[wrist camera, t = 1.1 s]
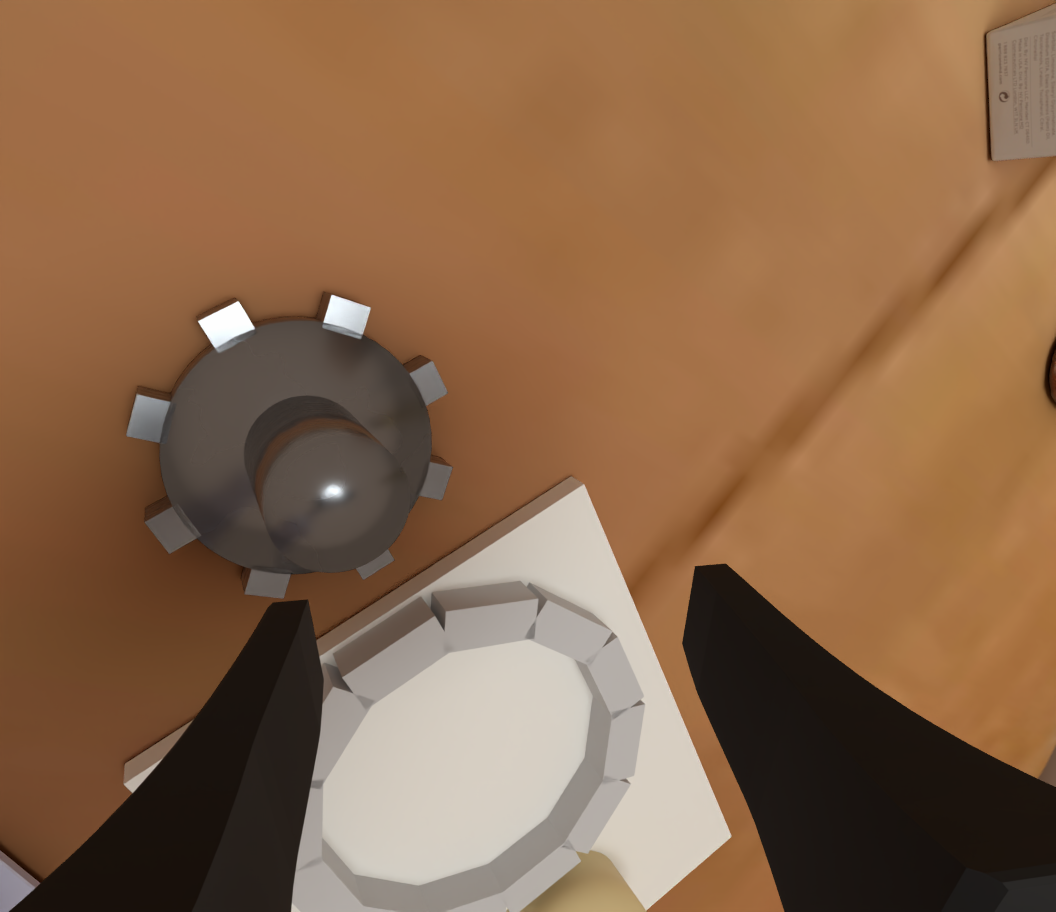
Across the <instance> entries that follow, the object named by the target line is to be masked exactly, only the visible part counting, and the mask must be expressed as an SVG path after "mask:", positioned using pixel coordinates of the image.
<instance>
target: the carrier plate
mask: <svg viewBox="0 0 1056 912" xmlns="http://www.w3.org/2000/svg"><path fill="white" fill-rule="evenodd" d="M316 642H317V647H318V652H319V657H320V662H321V667H322V672H323V677H324V687H323V704H322V718H321V731H320V738H319V744H318V750H317V755H316V761H315V766H314V772H313V777H312V782H311V788H310V793H309V799H308V804H307V809H306V815H305V820H304V825H303V831H302V836H301V841H300V847H299V852H298V858H297V864H296V871H295V878H294V886H293V896H292V907H291V912H647V911H646V910H647V909H648V908H650V907H651V906H652V905H653V904H654V903H655V902H656V901H658V900H659V899H660V898H661V897H662V896H663V895H665V894H666V893H667V892H668V891H669V890H670V889H672V888H673V887H674V886H675V885H676V884H677V883H678V882H680V881H681V880H682V879H683V878H684V877H685V876H687V875H688V874H689V873H690V872H691V871H692V870H694V869H695V868H696V867H697V866H698V865H699V864H700V863H702V862H703V861H704V860H705V859H706V858H707V857H709V856H710V855H711V854H712V853H713V852H714V851H716V850H717V849H718V848H719V847H720V846H721V845H722V844H724V843H725V842H726V841H727V840H728V839H729V838H731V837H732V836H731V834H730V832H729V829H728V827H727V824H726V822H725V820H724V817H723V815H722V812H721V810H720V808H719V805H718V803H717V801H716V798H715V796H714V793H713V791H712V789H711V786H710V784H709V781H708V779H707V777H706V774H705V772H704V769H703V767H702V765H701V762H700V760H699V758H698V755H697V753H696V750H695V748H694V746H693V743H692V741H691V738H690V736H689V734H688V731H687V729H686V726H685V724H684V722H683V719H682V717H681V715H680V712H679V710H678V707H677V705H676V703H675V700H674V698H673V695H672V693H671V691H670V688H669V686H668V684H667V681H666V679H665V676H664V674H663V672H662V669H661V667H660V664H659V662H658V660H657V657H656V655H655V652H654V650H653V648H652V645H651V643H650V641H649V638H648V636H647V633H646V631H645V629H644V626H643V624H642V621H641V619H640V617H639V614H638V612H637V609H636V607H635V605H634V602H633V600H632V598H631V595H630V593H629V590H628V588H627V586H626V583H625V581H624V578H623V576H622V574H621V571H620V569H619V567H618V564H617V562H616V559H615V557H614V555H613V552H612V550H611V547H610V545H609V543H608V540H607V538H606V535H605V533H604V531H603V528H602V526H601V524H600V521H599V519H598V516H597V514H596V512H595V509H594V507H593V504H592V502H591V500H590V497H589V495H588V493H587V490H586V488H585V485H584V484H583V483H581V482H580V481H578V480H576V479H575V478H573V477H572V476H570V477H569V478H567V479H566V480H564V481H563V482H561V483H560V484H558V485H557V486H555V487H553V488H552V489H550V490H549V491H547V492H546V493H544V494H543V495H541V496H539V497H538V498H536V499H535V500H533V501H532V502H530V503H529V504H527V505H526V506H524V507H522V508H521V509H519V510H518V511H516V512H515V513H513V514H512V515H510V516H508V517H507V518H505V519H504V520H502V521H501V522H499V523H498V524H496V525H494V526H493V527H491V528H490V529H488V530H487V531H485V532H484V533H482V534H481V535H479V536H477V537H476V538H474V539H473V540H471V541H470V542H468V543H467V544H465V545H463V546H462V547H460V548H459V549H457V550H456V551H454V552H453V553H451V554H449V555H448V556H446V557H445V558H443V559H442V560H440V561H439V562H437V563H436V564H434V565H432V566H431V567H429V568H428V569H426V570H425V571H423V572H422V573H420V574H418V575H417V576H415V577H414V578H412V579H411V580H409V581H408V582H406V583H405V584H403V585H401V586H400V587H398V588H397V589H395V590H394V591H392V592H391V593H389V594H387V595H386V596H384V597H383V598H381V599H380V600H378V601H377V602H375V603H373V604H372V605H370V606H369V607H367V608H366V609H364V610H363V611H361V612H360V613H358V614H356V615H355V616H353V617H352V618H350V619H349V620H347V621H346V622H344V623H342V624H341V625H339V626H338V627H336V628H335V629H333V630H332V631H330V632H329V633H327V634H325V635H324V636H322V637H321V638H319V639H318V640H316ZM192 721H193V720H192ZM192 721H190V722H189V723H187V724H186V725H184V726H183V727H181V728H180V729H178V730H176V731H175V732H173V733H172V734H170V735H169V736H167V737H166V738H164V739H163V740H161V741H159V742H158V743H156V744H155V745H153V746H152V747H150V748H149V749H147V750H145V751H144V752H142V753H141V754H139V755H138V756H136V757H135V758H133V759H132V760H130V761H128V762H127V763H125V769H124V785H125V786H126V787H127V788H128V789H129V790H130V791H131V792H132V793H133V792H134V791H135V790H136V789H137V788H138V787H139V785H140V784H141V783H142V782H143V781H144V780H145V779H146V778H147V776H148V775H149V774H150V773H151V772H152V771H153V770H154V768H155V767H156V766H157V765H158V764H159V763H160V761H161V760H162V759H163V758H164V757H165V755H166V754H167V753H168V752H169V751H170V749H171V748H172V747H173V746H174V744H175V743H176V742H177V741H178V739H179V738H180V737H181V735H182V734H183V733H184V732H185V730H186V729H187V728H188V726H189V725H190V724H191V722H192Z"/></svg>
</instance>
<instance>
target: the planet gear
mask: <svg viewBox="0 0 1056 912" xmlns="http://www.w3.org/2000/svg"><path fill="white" fill-rule="evenodd" d="M370 309H371V308H370V307H368V306H365V305H362V304H360V303H357V302H354V301H351V300H348V299H345V298H342V297H339V296H336V295H333V294H330V293H327V292H323V296H322V299H321V303H320V306H319V310H318V313H317V317H316V318H310V317H279V318H272V319H265V320H261V321H258V322H254V323H251V321H250V320H249V318H248V316H247V315H246V313H245V311H244V310H243V308H242V306H241V305H240V303H239V301H238V300H237V299H236V298H233V299H231V300H229V301H227V302H225V303H223V304H220V305H218V306H216V307H214V308H212V309H210V310H208V311H206V312H204V313H202V314H200V315H198V316H196V318H197V320H198V322H199V324H200V325H201V327H202V328H203V330H204V331H205V333H206V335H207V336H208V338H209V339H210V341H211V342H212V344H210V345H209V346H208V347H207V348H205V349H204V350H203V351H202V352H200V353H199V354H198V356H197V357H196V358H195V359H194V360H193V361H192V362H191V363H190V364H189V365H188V366H187V367H186V369H185V370H184V372H183V373H182V374H181V376H180V377H179V379H178V380H177V382H176V384H175V386H174V388H173V390H172V391H171V393H166V392H162V391H157V390H153V389H149V388H145V387H140V386H138V388H137V392H136V396H135V400H134V404H133V407H132V411H131V415H130V419H129V423H128V428H127V434H126V436H128V437H133V438H138V439H143V440H148V441H153V442H158V443H160V465H161V474H162V478H163V482H164V486H165V489H166V493H167V495H168V496H166V497H164V498H162V499H161V500H159V501H157V502H155V503H153V504H152V505H150V506H148V507H146V508H145V521H144V522H145V524H146V525H147V526H148V527H149V529H150V530H151V531H152V532H153V534H154V535H155V536H156V538H157V539H158V540H159V541H160V543H161V544H162V545H163V546H164V548H165V549H166V550H167V552H168V553H169V554H170V553H172V552H174V551H175V550H177V549H179V548H181V547H182V546H184V545H186V544H188V543H189V542H191V541H193V540H194V539H196V538H197V539H198V540H199V541H200V542H202V543H203V544H204V545H205V546H206V547H207V548H209V549H210V550H212V551H213V552H215V553H217V554H218V555H220V556H221V557H223V558H225V559H227V560H229V561H231V562H233V563H236V564H238V565H241V566H244V569H243V572H242V575H241V581H242V585H243V590H244V594H248V595H256V596H265V597H274V598H283V599H284V595H285V592H286V589H287V585H288V582H289V579H290V575H291V574H306V573H312V572H327V573H334V572H343V571H349V570H352V569H357V571H358V572H359V574H360V576H361V577H362V579H363V580H364V579H366V578H367V577H369V576H370V575H372V574H374V573H375V572H377V571H378V570H380V569H381V568H383V567H385V566H386V565H388V564H389V563H391V562H393V561H394V558H393V557H392V555H391V553H390V552H389V550H388V548H389V547H390V546H391V545H392V544H393V543H394V542H395V540H396V539H397V537H398V536H399V535H400V533H401V531H402V529H403V527H404V525H405V523H406V520H407V517H408V513H409V512H410V511H411V509H412V508H413V506H414V504H415V502H416V501H417V499H418V497H419V496H423V497H428V498H433V499H438V500H442V499H443V496H444V493H445V490H446V487H447V484H448V480H449V477H450V474H451V471H452V468H453V467H452V466H451V465H449V464H448V463H447V462H446V461H445V460H443V459H442V458H441V457H437V456H433V455H431V449H432V443H431V427H430V420H429V416H428V412H427V408H426V406H427V405H428V404H430V403H432V402H434V401H435V400H437V399H439V398H440V397H442V396H444V395H446V394H447V393H448V392H447V390H446V388H445V386H444V384H443V382H442V380H441V377H440V375H439V373H438V371H437V369H436V367H435V365H434V363H433V361H431V360H429V359H427V358H425V357H423V356H421V355H420V356H418V357H416V358H415V359H413V360H411V361H409V362H407V363H406V364H404V365H402V364H401V363H400V362H399V361H398V360H397V359H396V358H395V357H394V356H393V355H392V354H391V353H390V352H389V351H387V350H386V349H385V348H383V347H382V346H380V345H379V344H378V343H376V342H375V341H373V340H371V339H369V338H367V337H366V336H364V335H363V332H364V329H365V325H366V322H367V319H368V315H369V312H370Z"/></svg>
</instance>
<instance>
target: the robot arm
mask: <svg viewBox="0 0 1056 912" xmlns="http://www.w3.org/2000/svg"><path fill="white" fill-rule="evenodd" d="M682 644H683V648H684V651H685V655H686V658H687V661H688V665H689V668H690V672H691V675H692V678H693V681H694V684H695V687H696V690H697V693H698V695H699V698H700V700H701V702H702V705H703V707H704V709H705V711H706V714H707V716H708V718H709V720H710V723H711V725H712V727H713V729H714V732H715V734H716V736H717V738H718V740H719V743H720V745H721V747H722V749H723V751H724V754H725V756H726V758H727V760H728V762H729V765H730V767H731V769H732V771H733V773H734V775H735V778H736V780H737V782H738V784H739V786H740V789H741V791H742V793H743V795H744V797H745V800H746V802H747V805H748V807H749V810H750V812H751V814H752V817H753V819H754V822H755V824H756V827H757V830H758V833H759V836H760V839H761V842H762V845H763V848H764V851H765V854H766V857H767V859H768V862H769V865H770V868H771V871H772V874H773V877H774V880H775V883H776V887H777V890H778V893H779V896H780V899H781V902H782V905H783V908H784V912H1056V787H1054V786H1052V785H1050V784H1047V783H1045V782H1043V781H1041V780H1039V779H1037V778H1035V777H1033V776H1031V775H1029V774H1027V773H1024V772H1022V771H1020V770H1018V769H1016V768H1014V767H1012V766H1010V765H1008V764H1006V763H1004V762H1002V761H1000V760H998V759H996V758H994V757H992V756H990V755H988V754H987V753H985V752H983V751H981V750H979V749H977V748H975V747H973V746H971V745H970V744H968V743H966V742H964V741H962V740H961V739H959V738H957V737H955V736H954V735H952V734H950V733H948V732H947V731H945V730H943V729H941V728H940V727H938V726H936V725H934V724H933V723H931V722H929V721H928V720H926V719H924V718H923V717H921V716H919V715H918V714H916V713H915V712H913V711H911V710H910V709H908V708H907V707H905V706H904V705H902V704H901V703H899V702H898V701H896V700H895V699H893V698H892V697H890V696H888V695H887V694H885V693H884V692H882V691H881V690H879V689H878V688H876V687H875V686H874V685H872V684H871V683H869V682H868V681H866V680H865V679H864V678H862V677H861V676H859V675H858V674H857V673H855V672H854V671H853V670H851V669H850V668H849V667H847V666H846V665H845V664H843V663H842V662H841V661H839V660H838V659H837V658H836V657H834V656H833V655H832V654H830V653H829V652H828V651H826V650H825V649H824V648H823V647H821V646H820V645H819V644H818V643H816V642H815V641H814V640H813V639H812V638H810V637H809V636H808V635H807V634H805V633H804V632H803V631H802V630H801V629H799V628H798V627H797V626H796V625H795V624H794V623H792V622H791V621H790V620H789V619H788V618H787V617H785V616H784V615H783V614H782V613H781V612H780V611H778V610H777V609H776V608H775V607H774V606H773V605H772V604H771V603H769V602H768V601H767V600H766V599H765V598H764V597H763V596H762V595H760V594H759V593H758V592H757V591H756V590H755V589H754V588H753V587H752V586H750V585H749V584H748V583H747V582H746V581H745V580H744V579H743V578H742V577H740V576H739V575H738V574H737V573H736V572H735V571H734V570H733V569H731V568H730V567H729V566H728V565H727V564H716V565H704V566H695V570H694V576H693V582H692V588H691V594H690V600H689V606H688V612H687V618H686V624H685V630H684V636H683V642H682ZM323 687H324V677H323V672H322V667H321V662H320V657H319V652H318V647H317V642H316V637H315V632H314V627H313V622H312V617H311V612H310V607H309V602H308V600H298V601H287V602H275V603H272V604H271V605H270V606H269V607H268V608H267V610H266V612H265V613H264V615H263V617H262V619H261V620H260V622H259V624H258V625H257V627H256V629H255V630H254V632H253V634H252V635H251V637H250V638H249V640H248V642H247V643H246V645H245V646H244V648H243V650H242V651H241V653H240V654H239V656H238V657H237V659H236V660H235V662H234V664H233V665H232V667H231V668H230V669H229V671H228V672H227V674H226V675H225V677H224V678H223V680H222V681H221V683H220V684H219V685H218V687H217V688H216V690H215V691H214V693H213V694H212V696H211V697H210V698H209V700H208V701H207V703H206V704H205V705H204V707H203V708H202V709H201V711H200V712H199V713H198V715H197V716H196V717H195V718H194V720H193V721H192V722H191V724H190V725H189V726H188V728H187V729H186V730H185V732H184V733H183V734H182V735H181V737H180V738H179V739H178V741H177V742H176V743H175V744H174V746H173V747H172V748H171V749H170V751H169V752H168V753H167V754H166V755H165V757H164V758H163V759H162V760H161V761H160V763H159V764H158V765H157V766H156V767H155V768H154V770H153V771H152V772H151V773H150V774H149V775H148V776H147V778H146V779H145V780H144V781H143V782H142V783H141V784H140V785H139V787H138V788H137V789H136V790H135V791H134V792H133V793H132V794H131V795H130V797H129V798H128V799H127V800H126V801H125V802H124V803H123V804H122V805H121V806H120V807H119V808H118V809H117V810H116V811H115V812H114V813H113V814H112V815H111V816H110V817H109V818H108V819H107V820H106V822H105V823H104V824H103V825H102V826H101V827H100V828H99V829H98V830H97V831H96V832H95V833H94V834H93V835H92V836H91V837H90V838H89V839H88V840H87V841H86V842H85V843H84V844H83V845H82V846H81V847H80V848H79V849H77V850H76V851H75V852H74V853H73V854H72V855H71V856H70V857H69V858H68V859H67V860H66V861H65V862H63V863H62V864H61V865H60V866H59V867H58V868H57V869H56V870H55V871H54V872H52V873H51V874H50V875H49V876H48V877H47V878H46V879H45V880H44V881H42V882H41V883H40V882H38V881H37V880H36V879H35V878H33V877H32V876H31V875H30V874H28V873H27V872H26V871H25V870H24V869H22V868H21V867H20V866H19V865H17V864H16V863H15V862H14V861H13V860H11V859H10V858H9V857H8V856H6V855H5V854H4V853H3V852H2V851H0V912H291V907H292V896H293V886H294V878H295V871H296V864H297V858H298V852H299V847H300V841H301V836H302V831H303V825H304V820H305V815H306V809H307V804H308V799H309V793H310V788H311V782H312V777H313V772H314V766H315V761H316V755H317V750H318V744H319V738H320V731H321V718H322V704H323Z"/></svg>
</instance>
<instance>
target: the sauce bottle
mask: <svg viewBox="0 0 1056 912" xmlns="http://www.w3.org/2000/svg"><path fill="white" fill-rule="evenodd" d="M1049 374H1050V381H1049V383H1050V388H1051V396H1052V397H1053V399H1054V400H1055V402H1056V350H1055V352H1054V355H1053V358H1052V363H1051V369H1050V373H1049Z"/></svg>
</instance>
